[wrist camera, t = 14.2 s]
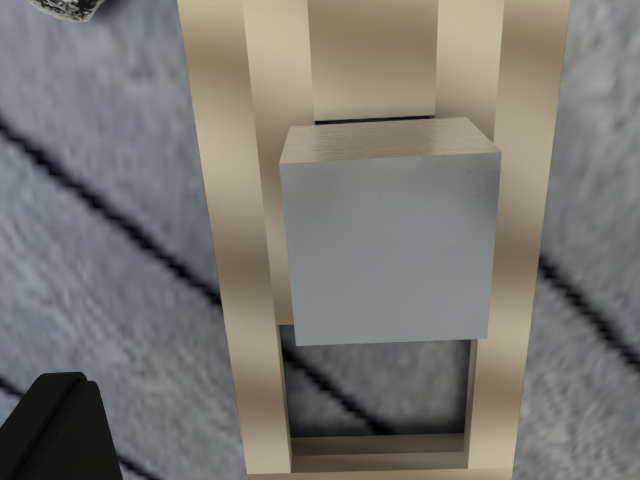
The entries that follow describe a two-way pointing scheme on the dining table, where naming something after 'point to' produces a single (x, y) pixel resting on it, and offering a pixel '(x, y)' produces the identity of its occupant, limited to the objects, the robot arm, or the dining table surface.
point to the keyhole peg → (390, 229)
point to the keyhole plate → (357, 103)
